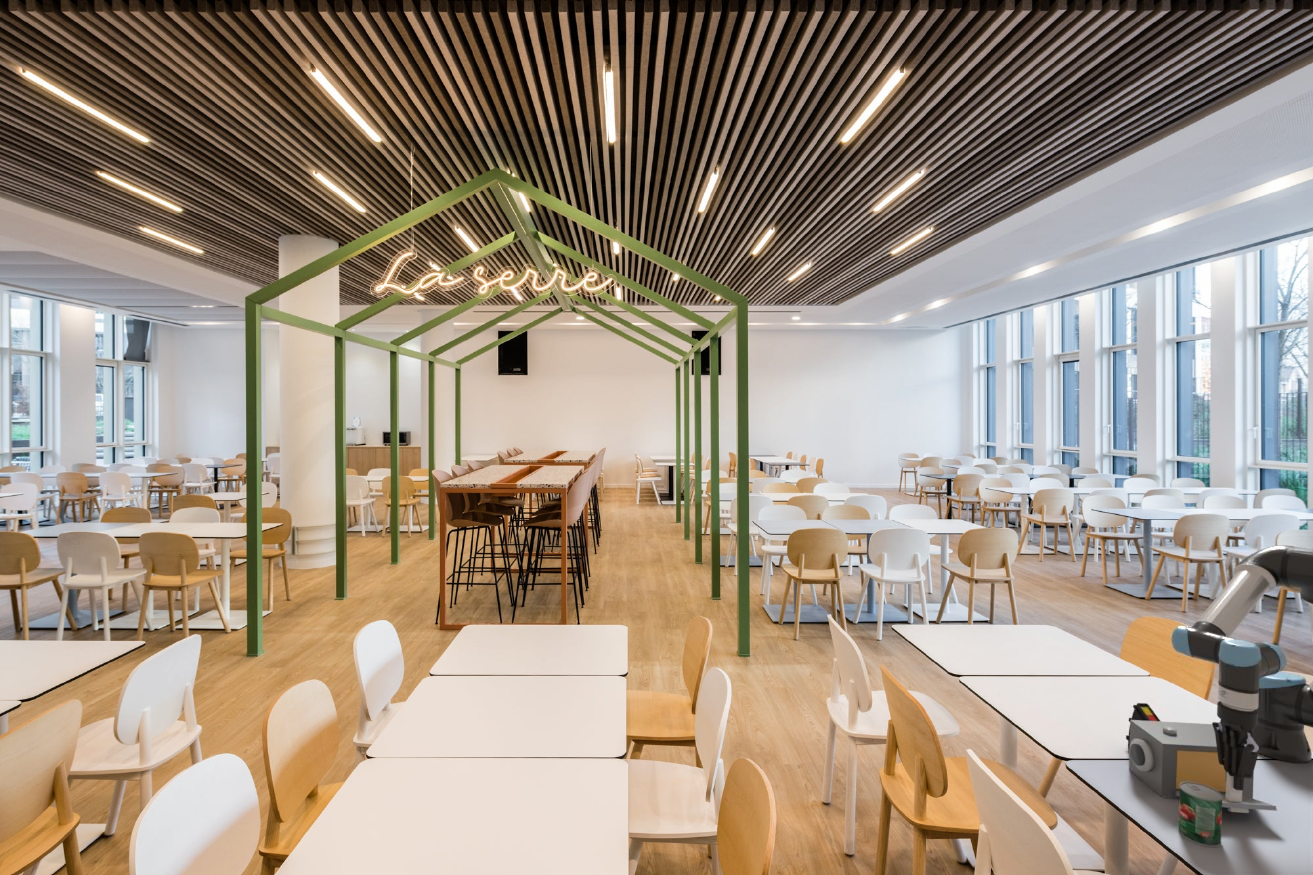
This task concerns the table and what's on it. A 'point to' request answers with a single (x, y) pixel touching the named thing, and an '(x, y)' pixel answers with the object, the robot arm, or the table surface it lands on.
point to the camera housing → (1177, 757)
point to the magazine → (1142, 715)
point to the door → (1244, 804)
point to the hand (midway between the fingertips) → (1233, 799)
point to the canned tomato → (1200, 814)
